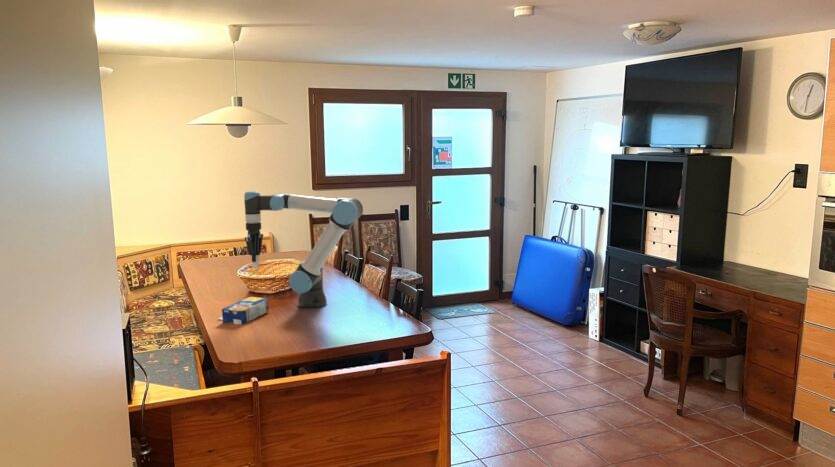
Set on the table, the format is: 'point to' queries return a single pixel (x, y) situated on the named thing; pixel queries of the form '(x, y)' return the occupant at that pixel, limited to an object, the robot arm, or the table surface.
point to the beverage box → (245, 310)
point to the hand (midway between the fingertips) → (255, 267)
